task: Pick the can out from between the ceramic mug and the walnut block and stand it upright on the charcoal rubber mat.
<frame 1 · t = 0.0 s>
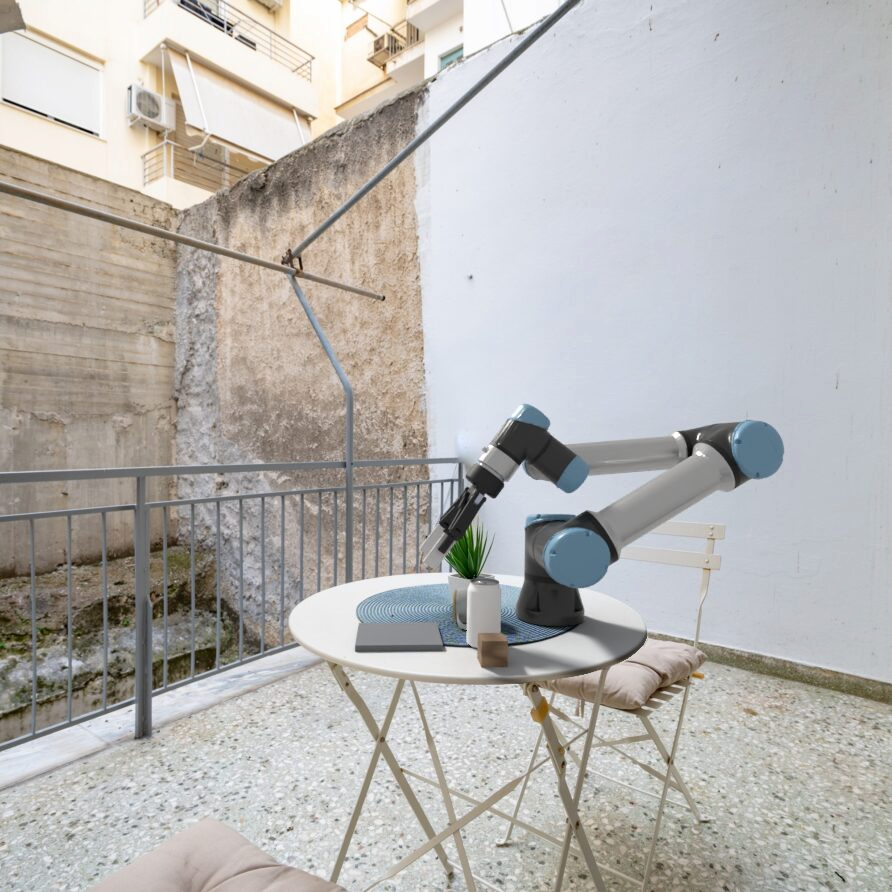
hand: (426, 559, 115), 15 cm above the table, tool tilted 35°, fingers open, 13 cm apart
mat: (398, 638, 113), on the table
can: (483, 645, 111), on the table
walnut block: (492, 662, 102), on the table
ceramic mug: (473, 625, 124), on the table
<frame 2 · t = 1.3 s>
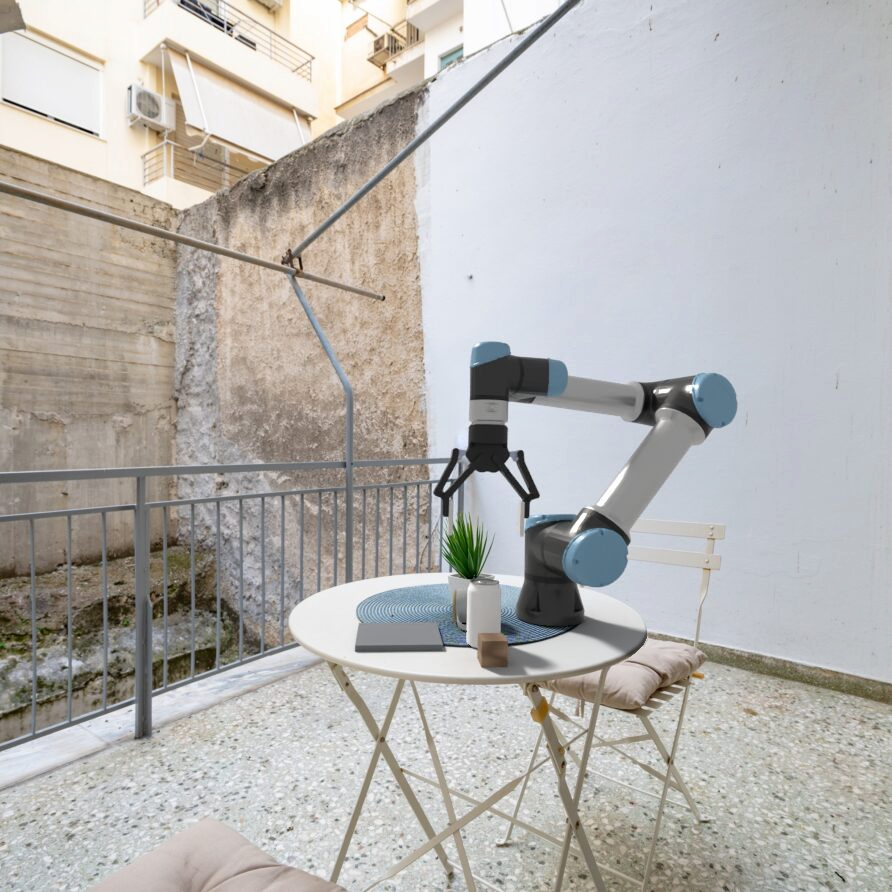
hand: (485, 535, 111), 21 cm above the table, tool pointing down, fingers open, 13 cm apart
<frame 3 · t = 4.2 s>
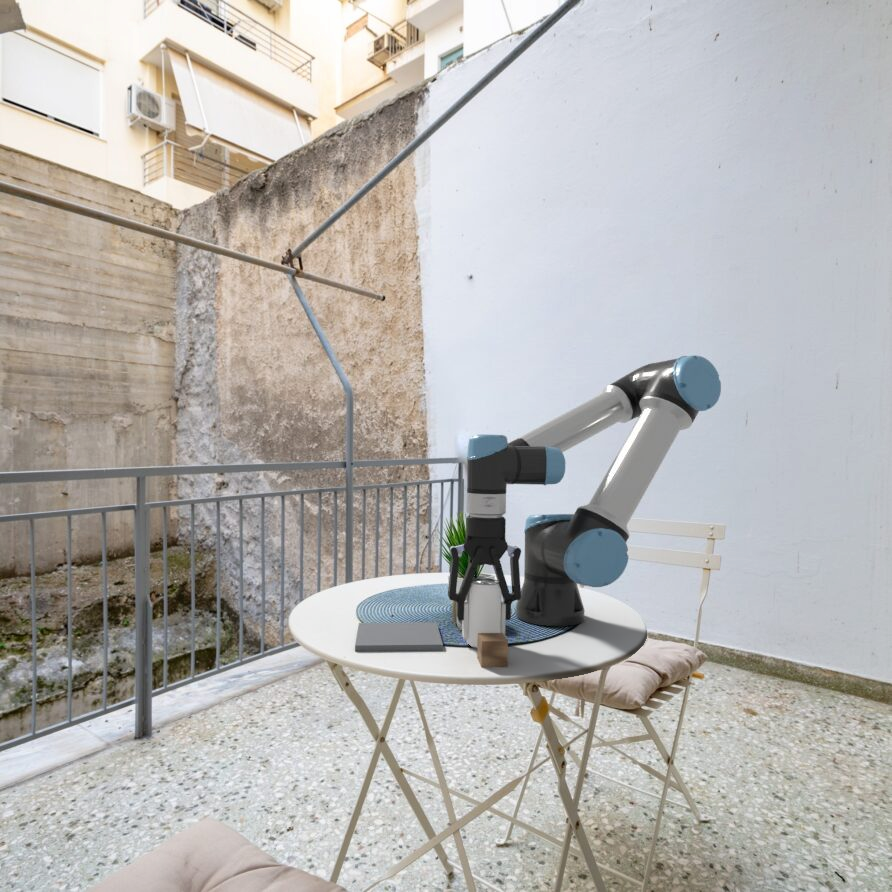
hand: (483, 636, 111), 1 cm above the table, tool pointing down, fingers closed on can, 6 cm apart
can: (483, 645, 111), on the table, touching gripper
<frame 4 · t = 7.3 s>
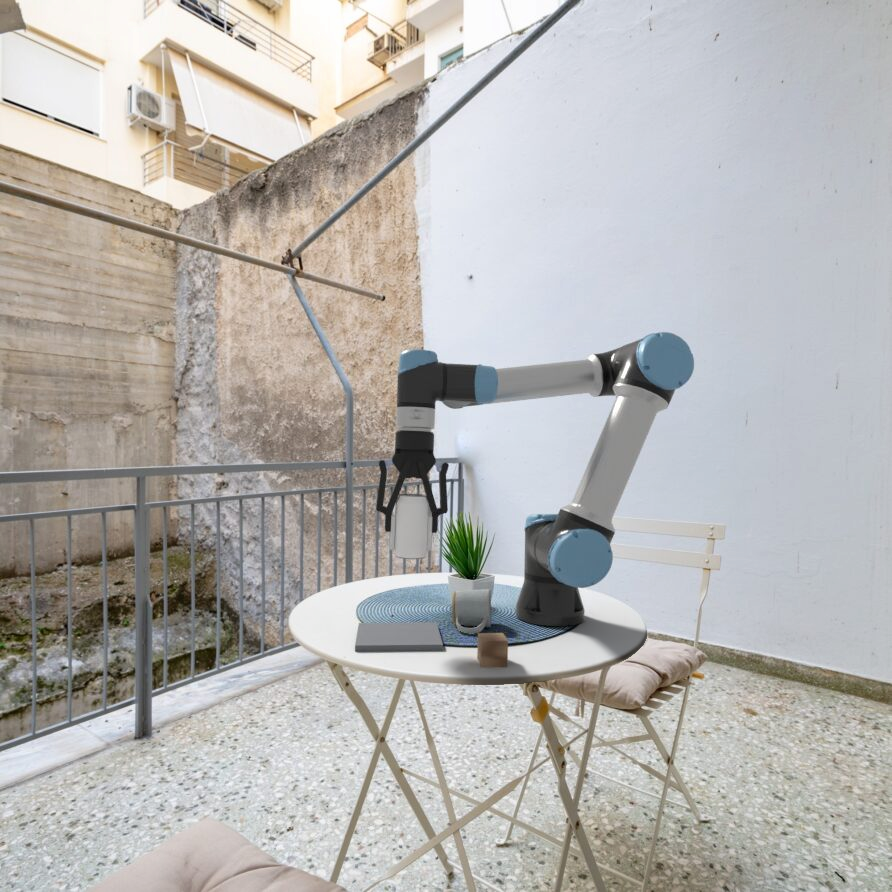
hand: (410, 549, 113), 17 cm above the table, tool pointing down, fingers closed on can, 6 cm apart
can: (410, 557, 113), point 16 cm above the table, touching gripper
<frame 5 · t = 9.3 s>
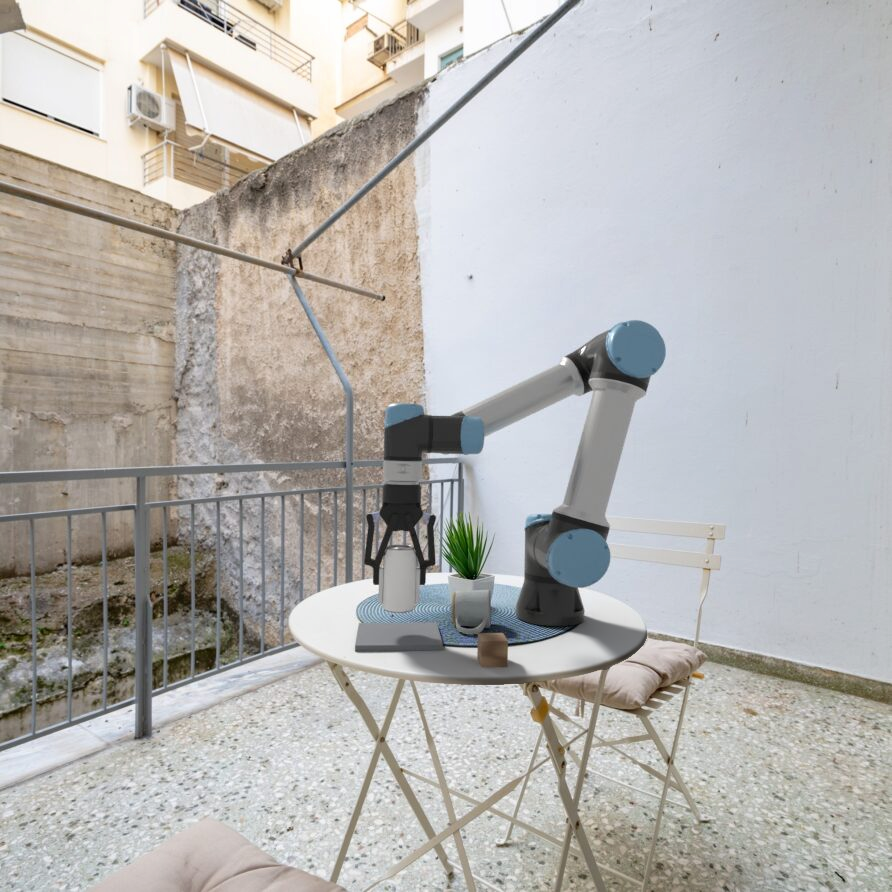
hand: (398, 601, 114), 7 cm above the table, tool pointing down, fingers closed on can, 6 cm apart
can: (398, 609, 113), point 6 cm above the table, touching gripper
when the fingers open (4 cm above the table, at t = 10.7 s): can drops 1 cm, resting on mat.
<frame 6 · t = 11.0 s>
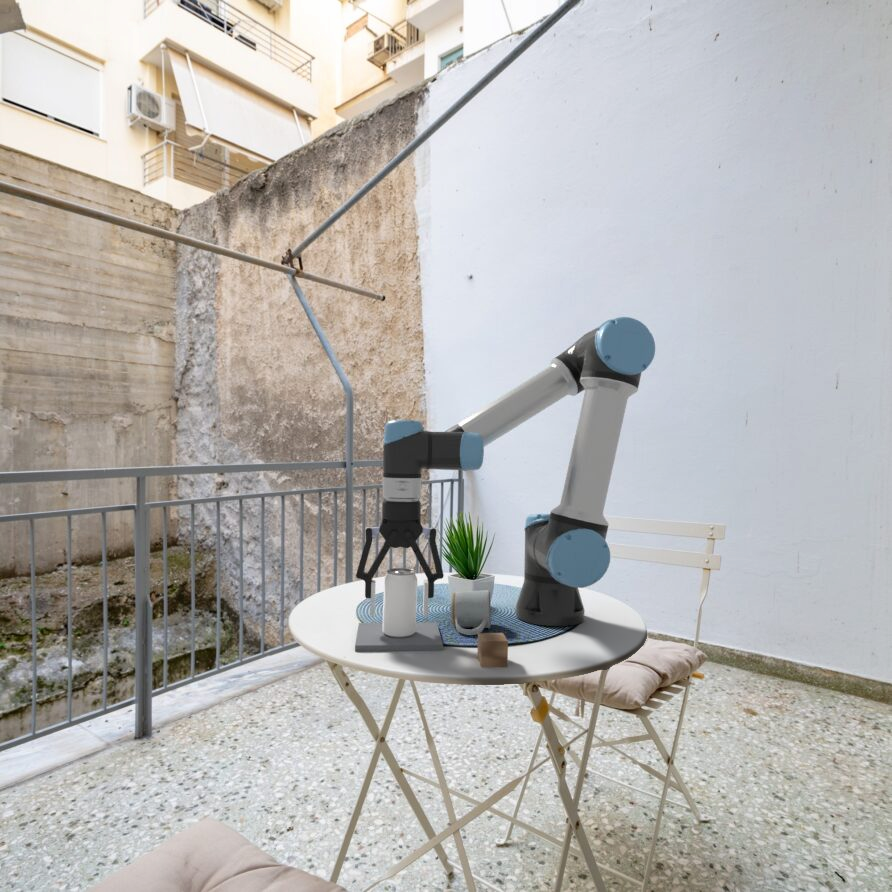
hand: (399, 614, 114), 5 cm above the table, tool pointing down, fingers open, 9 cm apart
can: (398, 633, 113), point 1 cm above the table, touching mat
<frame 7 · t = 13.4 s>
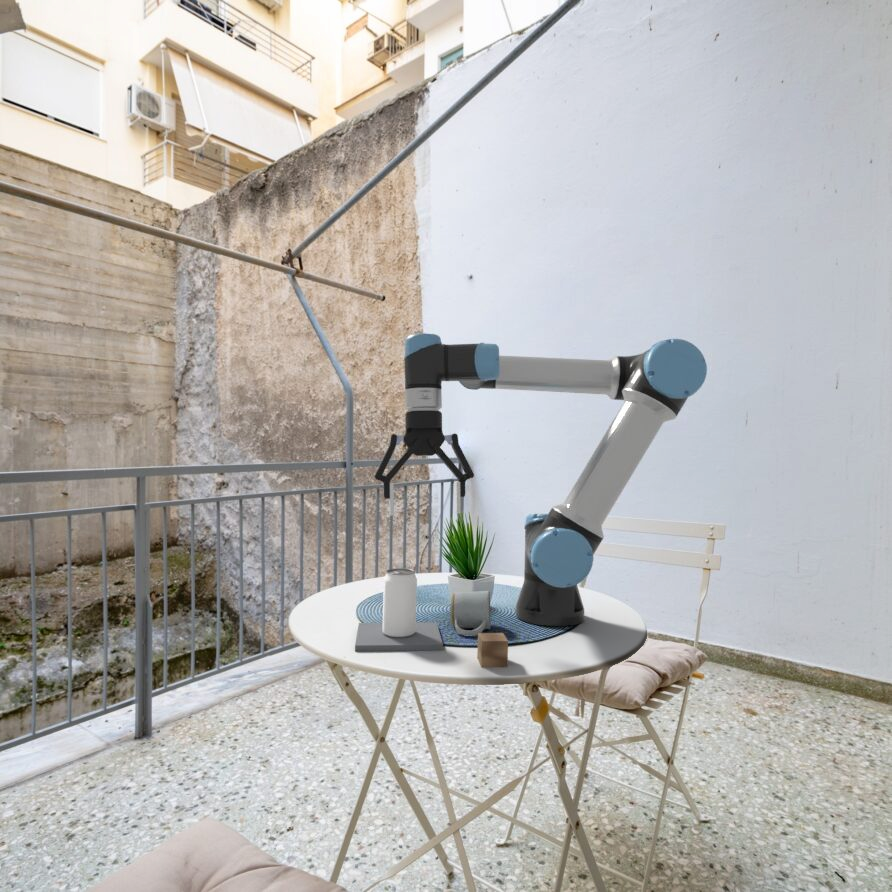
hand: (425, 514, 120), 24 cm above the table, tool pointing down, fingers open, 13 cm apart
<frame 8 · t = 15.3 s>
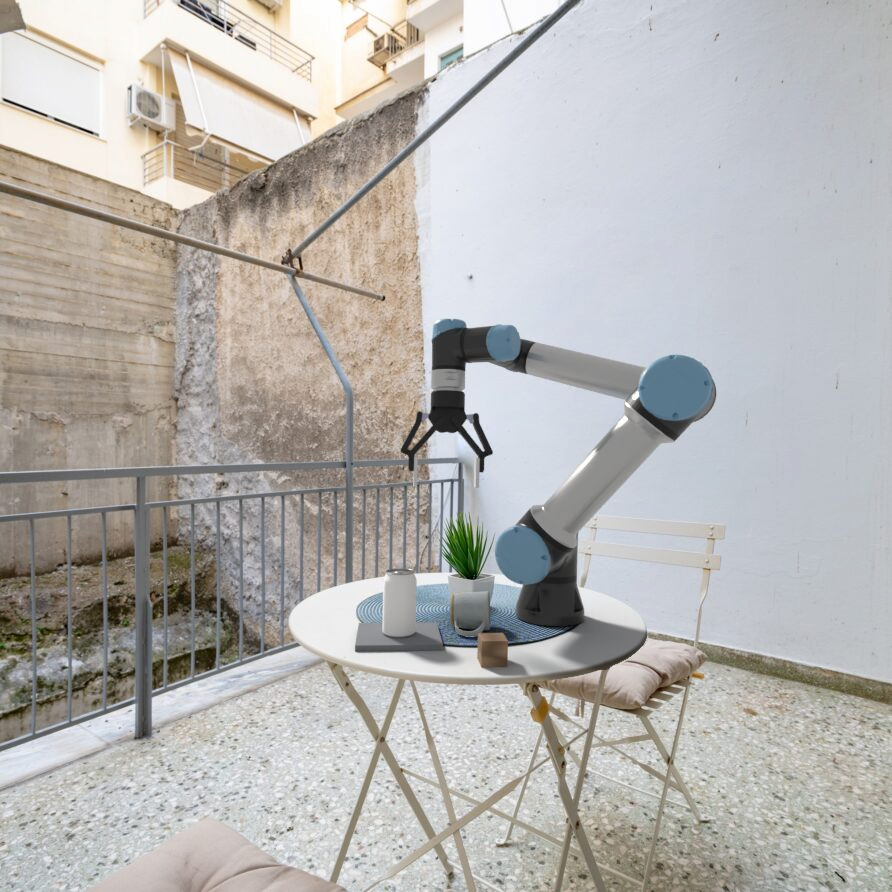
hand: (445, 487, 129), 29 cm above the table, tool pointing down, fingers open, 13 cm apart
at the end: can inside the target area on the mat (0.1 cm from its centre), point 0.8 cm above the mat's base; can tilted 0°; the gripper is holding nothing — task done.
